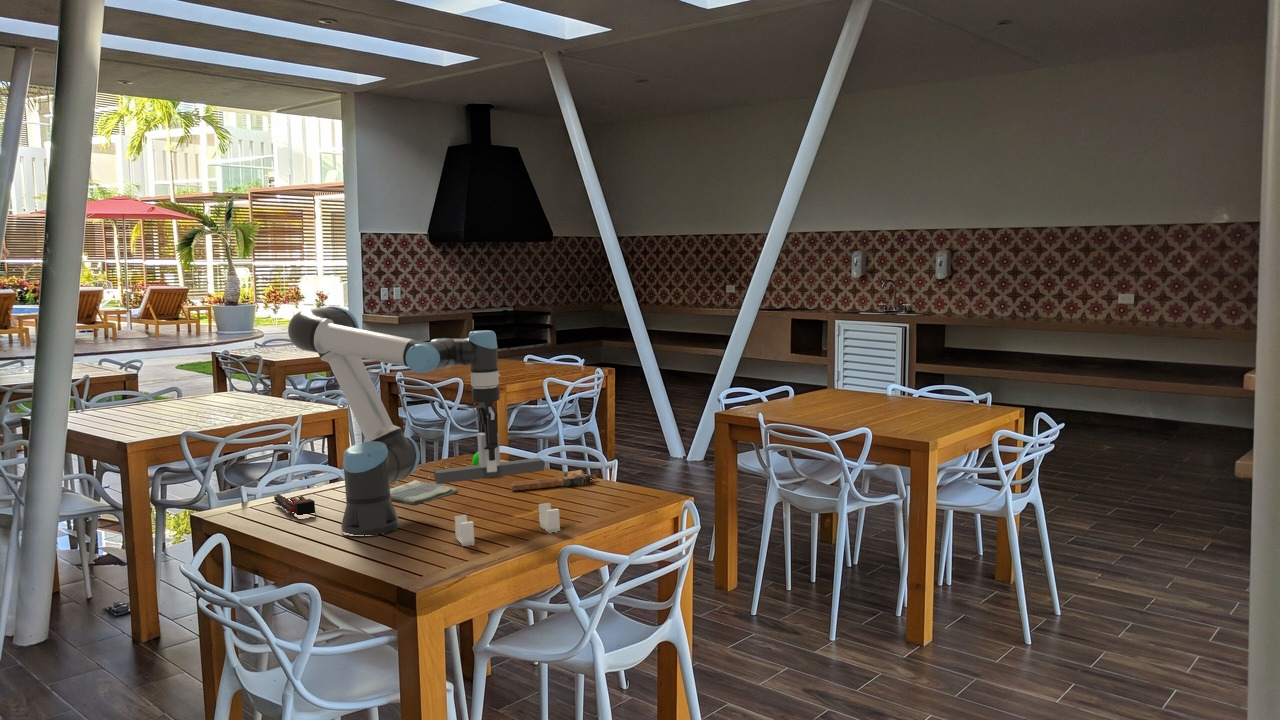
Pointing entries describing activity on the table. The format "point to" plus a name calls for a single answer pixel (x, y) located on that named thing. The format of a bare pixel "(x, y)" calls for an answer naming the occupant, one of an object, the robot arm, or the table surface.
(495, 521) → the table surface
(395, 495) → the dish towel
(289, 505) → the toy
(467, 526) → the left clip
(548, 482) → the decorative handgun
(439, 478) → the bar
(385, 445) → the robot arm
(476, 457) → the ornament
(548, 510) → the right clip
